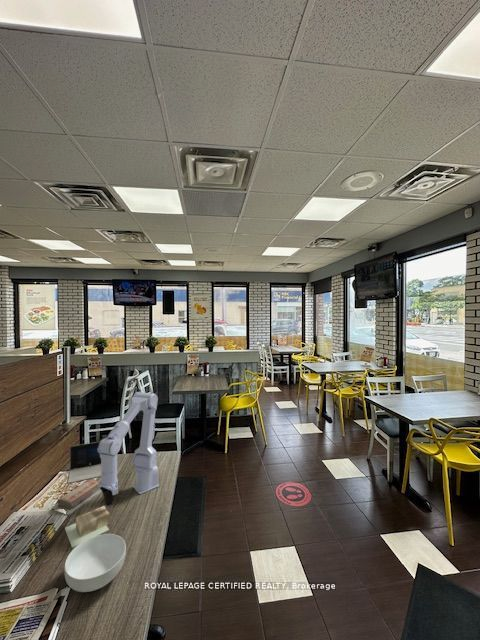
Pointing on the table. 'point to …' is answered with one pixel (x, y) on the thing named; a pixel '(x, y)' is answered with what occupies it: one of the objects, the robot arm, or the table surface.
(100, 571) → the cereal bowl
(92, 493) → the packaged product
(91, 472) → the laptop
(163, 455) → the table surface
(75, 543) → the mat
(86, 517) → the birch block
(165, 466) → the table surface
